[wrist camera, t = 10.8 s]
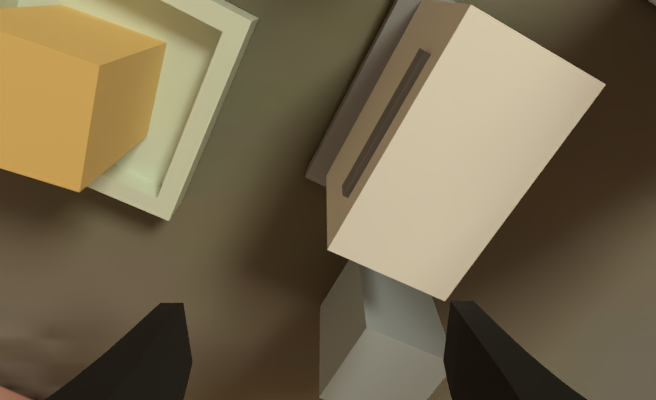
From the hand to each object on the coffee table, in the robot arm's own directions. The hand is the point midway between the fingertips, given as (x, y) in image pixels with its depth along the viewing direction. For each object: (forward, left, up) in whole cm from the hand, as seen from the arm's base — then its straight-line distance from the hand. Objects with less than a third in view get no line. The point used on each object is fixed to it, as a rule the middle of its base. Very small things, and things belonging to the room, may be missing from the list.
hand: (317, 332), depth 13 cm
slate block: (-5, +4, -10) cm, 12 cm away
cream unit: (-2, -5, -10) cm, 11 cm away
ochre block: (+10, -1, -9) cm, 14 cm away
